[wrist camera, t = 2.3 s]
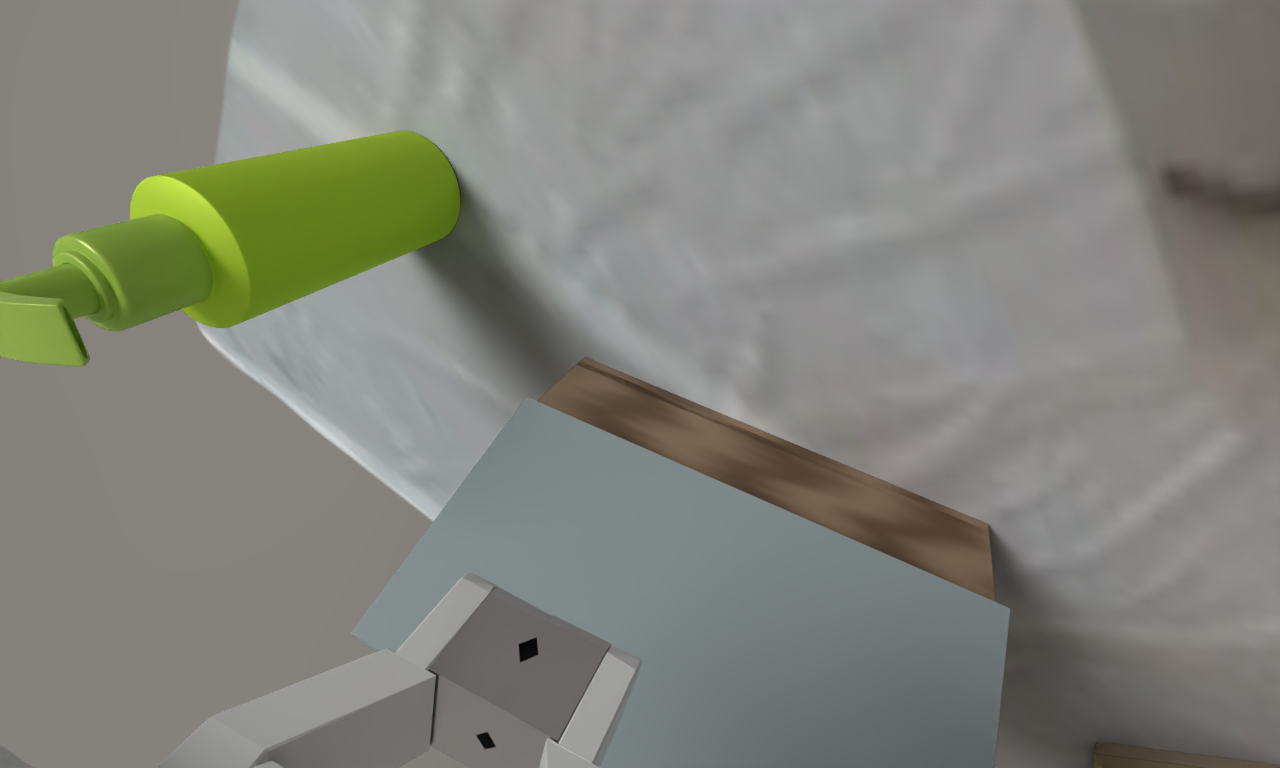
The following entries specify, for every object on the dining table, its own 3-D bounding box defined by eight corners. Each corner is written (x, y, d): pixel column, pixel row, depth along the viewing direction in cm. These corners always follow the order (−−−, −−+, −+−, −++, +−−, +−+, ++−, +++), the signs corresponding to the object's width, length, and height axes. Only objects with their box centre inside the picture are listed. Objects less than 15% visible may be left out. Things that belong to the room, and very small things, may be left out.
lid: (997, 617, 26) (1010, 608, 26) (956, 979, 19) (972, 982, 19) (528, 409, 31) (526, 396, 30) (358, 642, 24) (350, 633, 23)
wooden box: (987, 524, 31) (997, 615, 27) (884, 668, 38) (876, 763, 33) (584, 357, 36) (529, 408, 31) (553, 511, 42) (503, 573, 38)
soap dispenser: (483, 249, 35) (95, 434, 19) (382, 236, 38) (-43, 393, 21) (469, 134, 33) (1, 236, 16) (361, 128, 35) (-146, 212, 19)
